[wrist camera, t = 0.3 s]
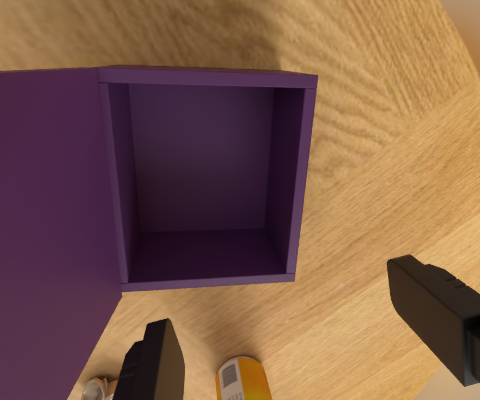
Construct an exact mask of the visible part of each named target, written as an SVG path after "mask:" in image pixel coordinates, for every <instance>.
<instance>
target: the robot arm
mask: <svg viewBox="0 0 480 400" xmlns="http://www.w3.org/2000/svg"><path fill="white" fill-rule="evenodd" d="M387 271H388V279H389V288H390V296H391V301H392V304H393V306H394V308H395V310H396V312H397V313H398V314H399V316H400V317H401V318H402V319H403V320H404V321H405V322H406V323H407V324H408V325H409V326H410V328H411V329H412V330H413V331H414V332H415V333H416V334H417V335H418V336H419V337H420V339H421V340H422V341H423V342H424V343H425V344H426V345H427V346H428V347H429V348H430V350H431V351H432V352H433V353H434V354H435V355H436V356H437V357H438V358H439V359H440V361H441V362H442V363H443V364H444V365H445V366H446V367H447V368H448V369H449V370H450V372H451V373H452V374H453V375H454V376H455V377H456V378H457V379H458V380H459V381H460V383H461V384H462V385H463V386H464V387H466V386H469V385H473V384H476V383H480V294H479V293H477V292H476V291H475V290H473V289H472V288H470V287H469V286H466V284H465V283H463V282H462V281H460V280H459V279H456V277H455V276H453V275H452V274H450V273H449V272H448V271H446V270H445V269H442V268H439V267H436V266H434V265H431V264H427V265H424V264H422V263H421V262H420V261H418V260H417V259H416V258H414V257H413V256H412V255H405V256H401V257H397V258H393V259H390V260H388V261H387ZM184 379H185V364H184V358H183V354H182V351H181V348H180V345H179V342H178V339H177V337H176V334H175V331H174V328H173V325H172V322H171V320H170V319H169V318H167V319H163V320H159V321H156V322H152V323H148V324H147V326H146V330H145V334H144V338H143V340H142V341H138V342H135V343H134V344H133V346H132V347H131V348H130V350H129V351H128V352H127V354H126V356H125V359H124V362H123V365H122V370H121V372H120V375H119V380H118V382H117V385H116V389H115V392H114V395H113V399H112V400H183V394H184Z"/></svg>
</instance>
